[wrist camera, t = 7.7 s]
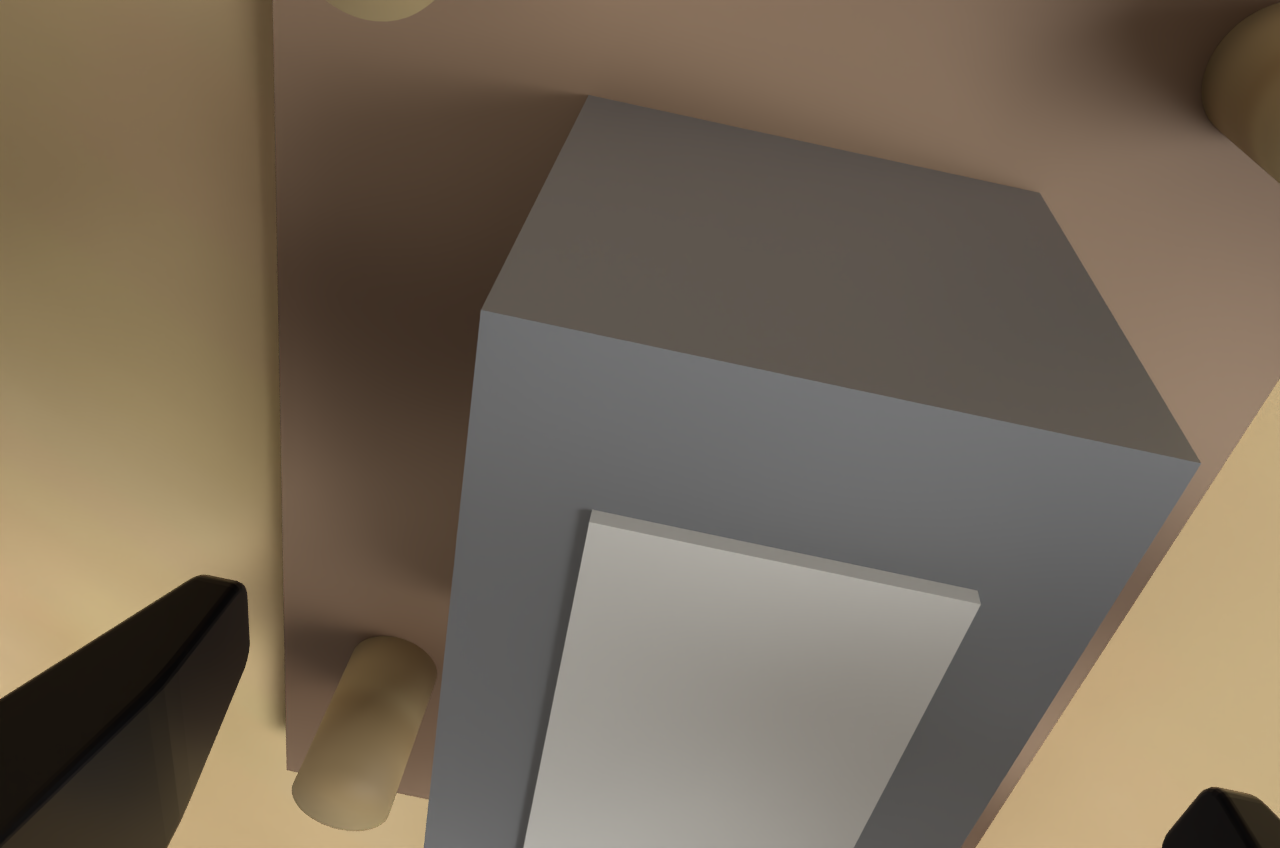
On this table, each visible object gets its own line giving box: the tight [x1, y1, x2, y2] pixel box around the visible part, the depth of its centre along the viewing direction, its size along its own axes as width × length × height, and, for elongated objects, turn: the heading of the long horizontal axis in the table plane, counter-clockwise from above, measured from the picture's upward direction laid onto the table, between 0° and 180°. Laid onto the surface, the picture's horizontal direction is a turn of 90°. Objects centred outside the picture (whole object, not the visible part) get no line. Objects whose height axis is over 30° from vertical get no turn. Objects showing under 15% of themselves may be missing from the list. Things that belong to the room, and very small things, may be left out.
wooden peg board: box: [273, 0, 1280, 848], centre depth 13 cm, size 18×12×3 cm, turn 169°
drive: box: [424, 95, 1201, 848], centre depth 11 cm, size 8×5×5 cm, turn 170°
